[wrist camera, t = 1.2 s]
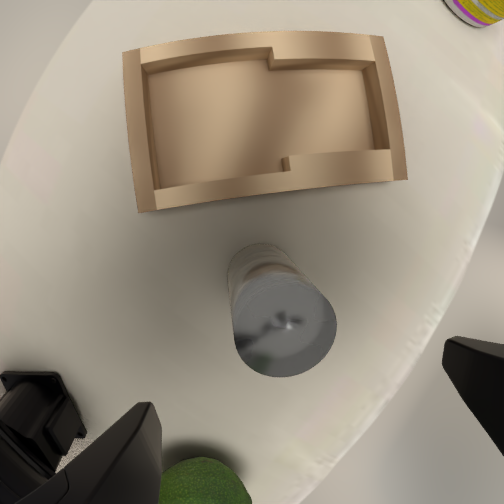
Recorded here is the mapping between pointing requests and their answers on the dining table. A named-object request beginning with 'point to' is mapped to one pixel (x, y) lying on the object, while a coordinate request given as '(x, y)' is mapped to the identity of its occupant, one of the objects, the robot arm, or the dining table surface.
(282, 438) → the dining table surface
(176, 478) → the avocado
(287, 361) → the grey metal peg
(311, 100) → the light brown wooden tray
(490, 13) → the supplement bottle
